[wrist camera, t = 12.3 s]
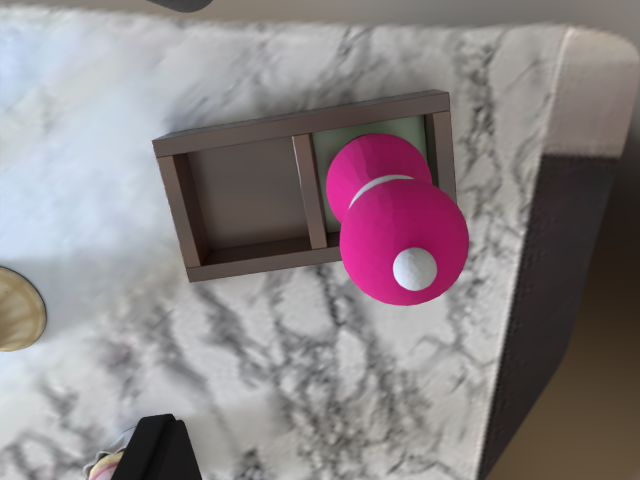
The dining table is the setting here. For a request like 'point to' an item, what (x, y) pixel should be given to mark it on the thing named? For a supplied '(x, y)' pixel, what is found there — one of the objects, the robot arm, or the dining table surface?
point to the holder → (283, 180)
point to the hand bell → (19, 312)
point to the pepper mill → (395, 221)
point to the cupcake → (108, 458)
